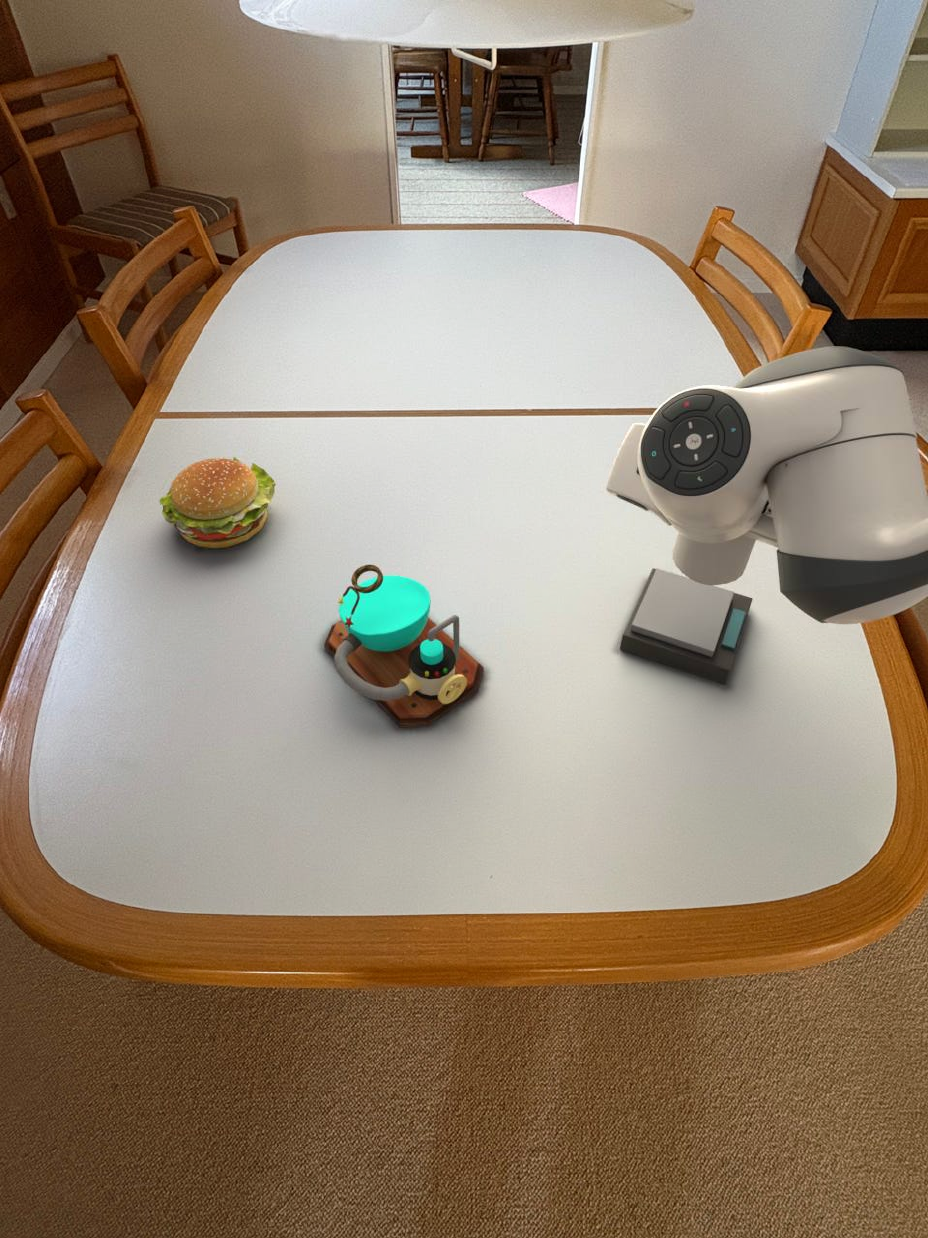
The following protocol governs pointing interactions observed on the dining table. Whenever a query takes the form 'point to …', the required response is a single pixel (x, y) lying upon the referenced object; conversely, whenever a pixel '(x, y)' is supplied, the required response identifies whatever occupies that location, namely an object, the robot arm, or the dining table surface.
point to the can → (712, 559)
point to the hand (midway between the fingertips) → (723, 514)
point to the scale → (687, 625)
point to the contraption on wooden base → (400, 650)
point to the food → (218, 502)
